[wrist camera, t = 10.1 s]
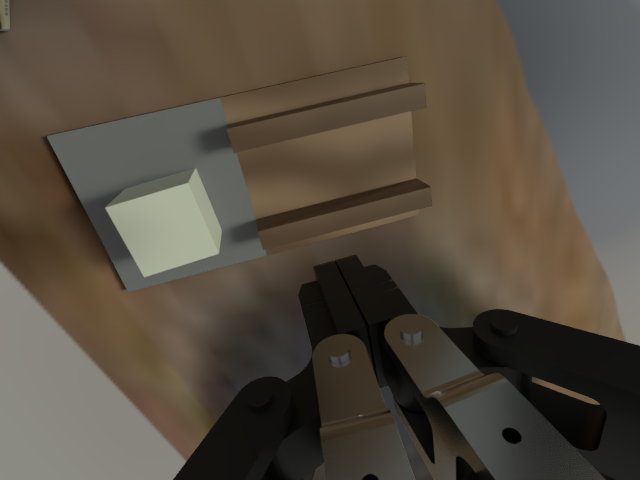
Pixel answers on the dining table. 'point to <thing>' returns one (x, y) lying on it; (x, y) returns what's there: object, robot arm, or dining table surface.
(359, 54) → the dining table surface
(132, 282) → the pad
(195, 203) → the pale block
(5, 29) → the coffee box
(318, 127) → the chute
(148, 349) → the dining table surface
